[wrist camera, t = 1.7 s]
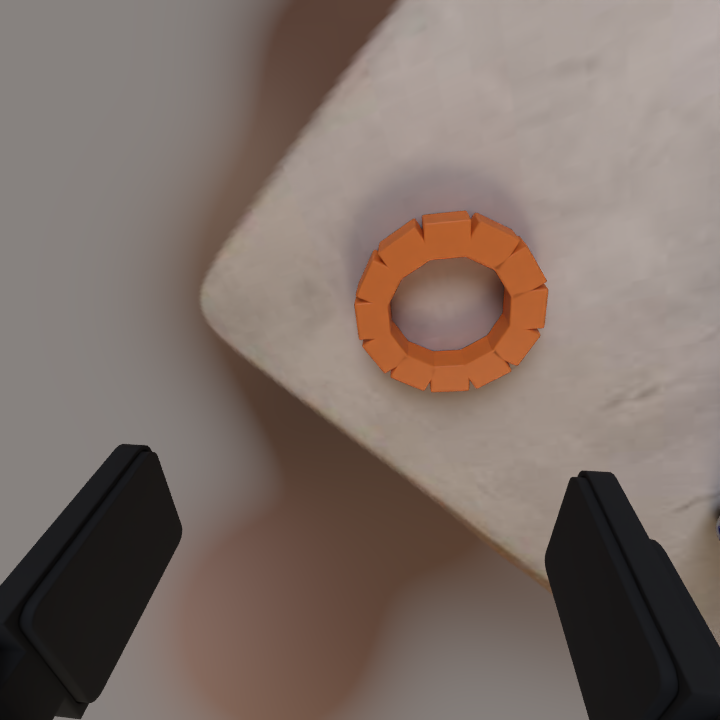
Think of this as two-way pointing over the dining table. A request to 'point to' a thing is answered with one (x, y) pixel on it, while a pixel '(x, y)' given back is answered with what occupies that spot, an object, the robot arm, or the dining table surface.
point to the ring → (444, 241)
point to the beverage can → (718, 528)
